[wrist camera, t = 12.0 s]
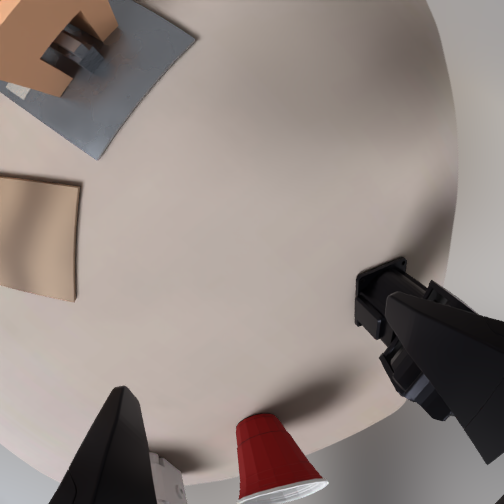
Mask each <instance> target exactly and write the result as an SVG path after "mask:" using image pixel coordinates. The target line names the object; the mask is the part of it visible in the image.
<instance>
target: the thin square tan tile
mask: <svg viewBox="0 0 504 504" xmlns="http://www.w3.org/2000/svg"><path fill="white" fill-rule="evenodd" d="M79 194H80V187H79V186H73V185H66V184H58V183H51V182H44V181H36V180H28V179H20V178H11V177H2V176H0V285H1V286H5V287H9V288H12V289H16V290H20V291H24V292H28V293H33V294H37V295H41V296H46V297H50V298H55V299H59V300H64V301H69V302H75V300H76V291H75V247H76V227H77V213H78V203H79Z"/></svg>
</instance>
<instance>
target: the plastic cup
mask: <svg viewBox="0 0 504 504" xmlns="http://www.w3.org/2000/svg"><path fill="white" fill-rule="evenodd" d="M236 437H237V446H238V448H237V452H238V463H239V473H240V495H239V500H238V501H237V503H236V504H281V503H286V502H290V501H293V500H296V499H299V498H302V497H305V496H308V495H310V494H313V493H315V492H317V491H319V490H321V489H323V488H324V487H325V486H327V485H328V484H329V482H328V481H327V480H326V479H325V478H322V476H320V475H319V473H318V472H317V471H316V470H315V468H314V467H313V465H312V464H311V463H309V461H308V459H307V458H306V457H305V455H304V454H303V452H302V451H301V450H300V448H299V447H298V445H297V444H296V442H295V441H294V440H293V438H292V437H291V435H290V434H289V433H288V432H287V431H286V429H285V428H284V426H283V425H282V423H281V422H280V421H279V419H278V418H277V417H276V416H275V415H273V414H269V413H268V414H258V415H253V416H251V417H248V418H246V419H244V420H243V421H241V422H240V423H239V424H238V425H237V427H236Z"/></svg>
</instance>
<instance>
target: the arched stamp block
mask: <svg viewBox="0 0 504 504" xmlns="http://www.w3.org/2000/svg"><path fill="white" fill-rule="evenodd" d="M68 23H70V24H72V25H73V26H75V27H77V28H79V29H81V30H83V31H84V32H86V33H88V34H90V35H91V36H93V37H95V38H97V39H98V40H100V41H102V42H103V41H104V40H105V39H106V38H107V37H108V36H109V35H110V34H111V33H112V32H113V31H114V30H115V29H116V28H117V27H118V26H119V25H118V23H117V21H116V18H115V16H114V14H113V11H112V9H111V6H110V4H109V2H108V0H0V80H1V81H5V82H9V83H13V84H16V85H20V86H23V87H27V88H30V89H34V90H37V91H40V92H43V93H47V94H50V95H53V96H56V97H59V98H60V96H61V95H62V93H63V92H64V91H65V89H66V88H67V86H68V85H69V83H70V82H71V81H72V79H73V78H72V77H70V76H69V75H67V74H65V73H64V72H62V71H61V70H59V69H58V68H56V67H54V66H53V65H51V64H50V63H48V62H46V61H45V60H43V59H42V58H41V56H42V55H43V54H44V52H45V51H46V50H47V48H48V47H49V46H50V45H51V43H52V42H53V41H54V40H55V38H56V37H57V36H58V35H59V34H60V32H61V31H62V30H63V29H64V28H65V27H66V25H67V24H68Z"/></svg>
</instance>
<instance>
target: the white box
mask: <svg viewBox="0 0 504 504" xmlns="http://www.w3.org/2000/svg"><path fill="white" fill-rule="evenodd" d="M149 455H150V462H151V469H152V476H153V482H154V488H155V494H156V499H157V504H187V500H186V495H185V490H184V485H183V479H182V474H181V472H180V471H179V470H178V469H177V468H175V467H174V466H173V465H172V464H170V463H169V462H168V461H167V460H166V459H165V458H159V457H158V456H159V455H157V454H156V453H152V452H149Z"/></svg>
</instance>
